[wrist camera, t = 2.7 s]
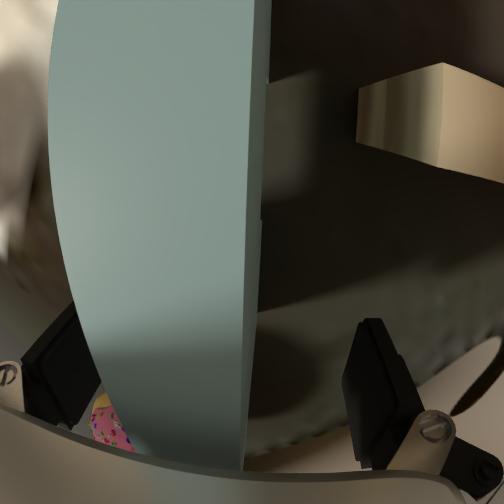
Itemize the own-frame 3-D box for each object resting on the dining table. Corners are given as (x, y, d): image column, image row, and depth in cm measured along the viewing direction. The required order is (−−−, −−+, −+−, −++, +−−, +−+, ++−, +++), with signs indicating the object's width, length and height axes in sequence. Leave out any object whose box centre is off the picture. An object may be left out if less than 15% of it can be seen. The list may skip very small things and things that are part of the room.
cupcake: (121, 322, 17) (23, 494, 6) (256, 368, 17) (238, 567, 6) (116, 399, 20) (62, 525, 9) (218, 434, 21) (196, 570, 10)
